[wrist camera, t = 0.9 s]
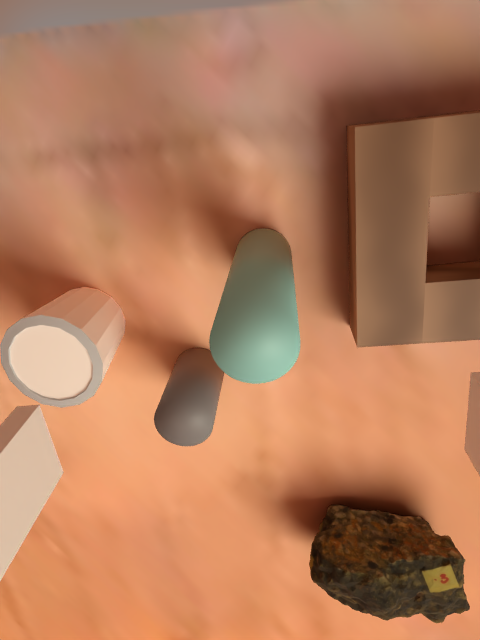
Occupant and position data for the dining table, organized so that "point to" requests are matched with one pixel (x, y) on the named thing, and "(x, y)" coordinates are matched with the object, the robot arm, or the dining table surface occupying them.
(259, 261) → the long dowel
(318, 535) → the rock
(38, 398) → the shot glass
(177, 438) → the short dowel
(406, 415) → the dining table surface
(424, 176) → the hole block
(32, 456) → the robot arm
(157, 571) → the dining table surface
